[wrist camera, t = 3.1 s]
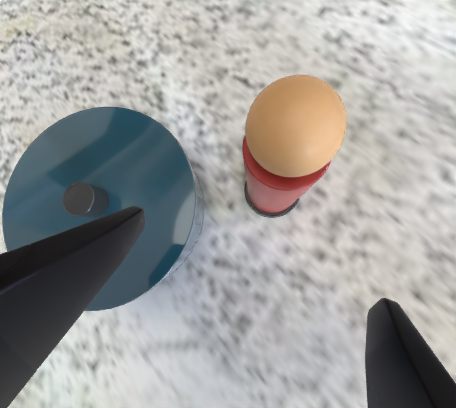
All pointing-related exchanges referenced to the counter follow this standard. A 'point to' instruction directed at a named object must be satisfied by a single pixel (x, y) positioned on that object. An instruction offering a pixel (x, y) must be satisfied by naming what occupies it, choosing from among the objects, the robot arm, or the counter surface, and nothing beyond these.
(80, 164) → the pot lid
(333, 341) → the counter surface
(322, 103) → the toy
